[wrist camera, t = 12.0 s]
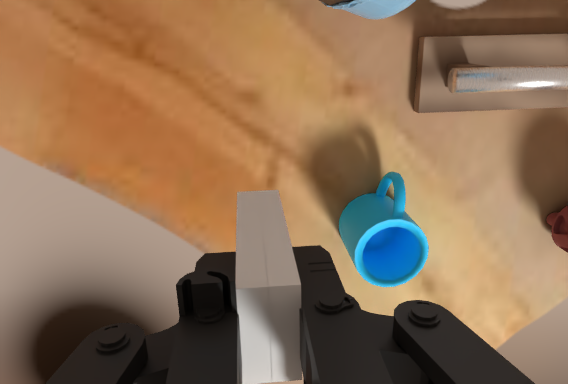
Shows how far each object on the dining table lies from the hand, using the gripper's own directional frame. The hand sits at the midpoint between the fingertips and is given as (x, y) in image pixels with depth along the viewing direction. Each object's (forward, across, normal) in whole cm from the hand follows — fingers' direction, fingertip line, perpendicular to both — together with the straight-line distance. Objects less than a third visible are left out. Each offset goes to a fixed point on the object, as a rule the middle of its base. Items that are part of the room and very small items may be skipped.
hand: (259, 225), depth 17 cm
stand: (+34, +35, +2) cm, 49 cm away
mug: (+35, +15, -14) cm, 40 cm away
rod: (+29, +35, +2) cm, 45 cm away
